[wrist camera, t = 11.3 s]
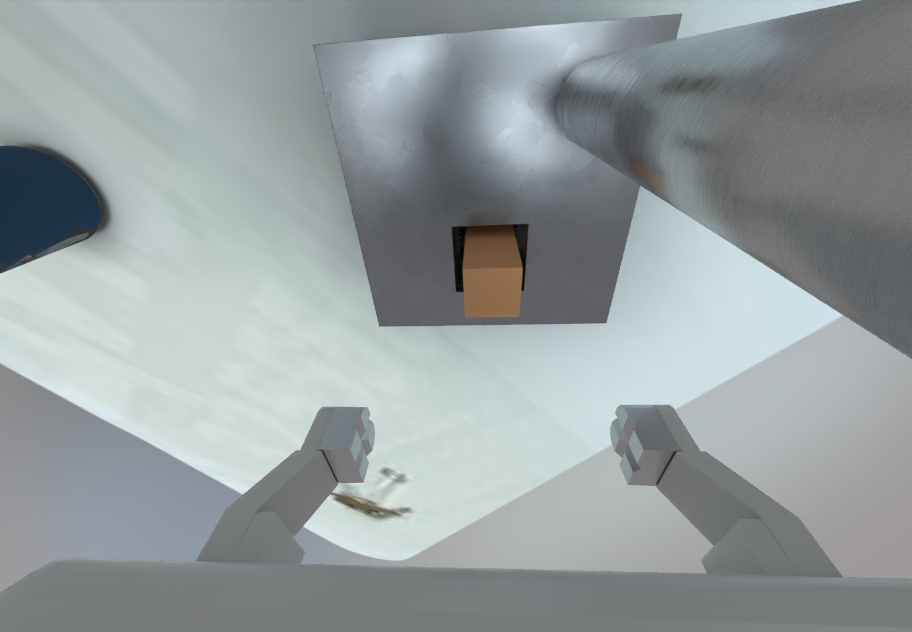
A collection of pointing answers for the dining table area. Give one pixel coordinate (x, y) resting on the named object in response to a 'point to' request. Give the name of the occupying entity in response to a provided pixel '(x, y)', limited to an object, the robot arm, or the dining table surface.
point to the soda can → (42, 206)
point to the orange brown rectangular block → (491, 272)
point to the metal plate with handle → (632, 155)
